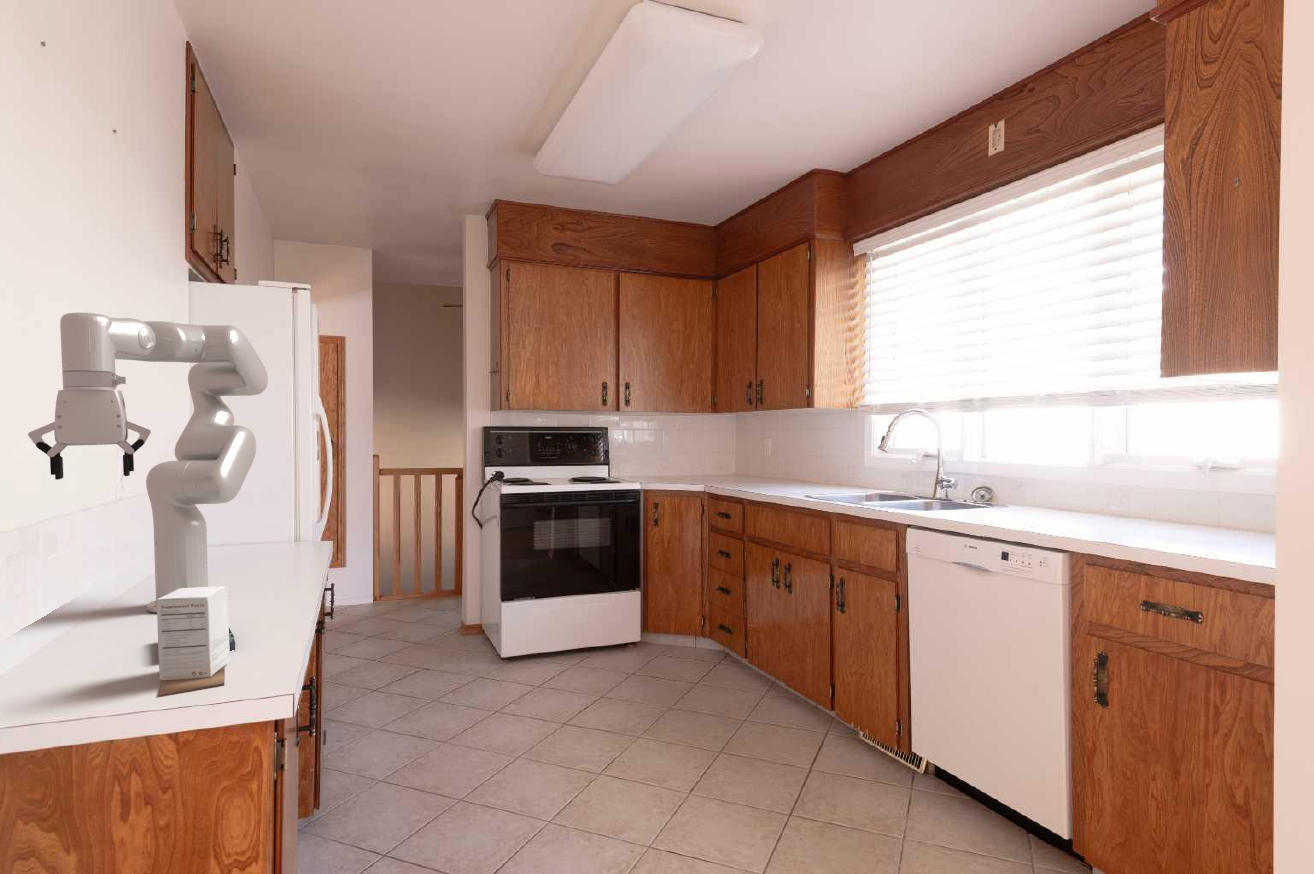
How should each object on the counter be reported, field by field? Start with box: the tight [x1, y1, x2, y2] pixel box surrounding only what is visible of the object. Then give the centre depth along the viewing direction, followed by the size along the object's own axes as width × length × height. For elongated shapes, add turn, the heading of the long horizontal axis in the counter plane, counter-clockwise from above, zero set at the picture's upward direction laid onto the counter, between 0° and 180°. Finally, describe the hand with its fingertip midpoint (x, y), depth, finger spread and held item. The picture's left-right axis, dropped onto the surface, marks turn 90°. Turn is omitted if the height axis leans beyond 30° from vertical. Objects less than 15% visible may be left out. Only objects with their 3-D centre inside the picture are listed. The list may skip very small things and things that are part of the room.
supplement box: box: [156, 585, 231, 681], centre depth 111 cm, size 7×7×13 cm
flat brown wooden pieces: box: [158, 665, 226, 697], centre depth 121 cm, size 41×8×1 cm, turn 31°
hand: (93, 477), depth 128 cm, fingers open, 9 cm apart
